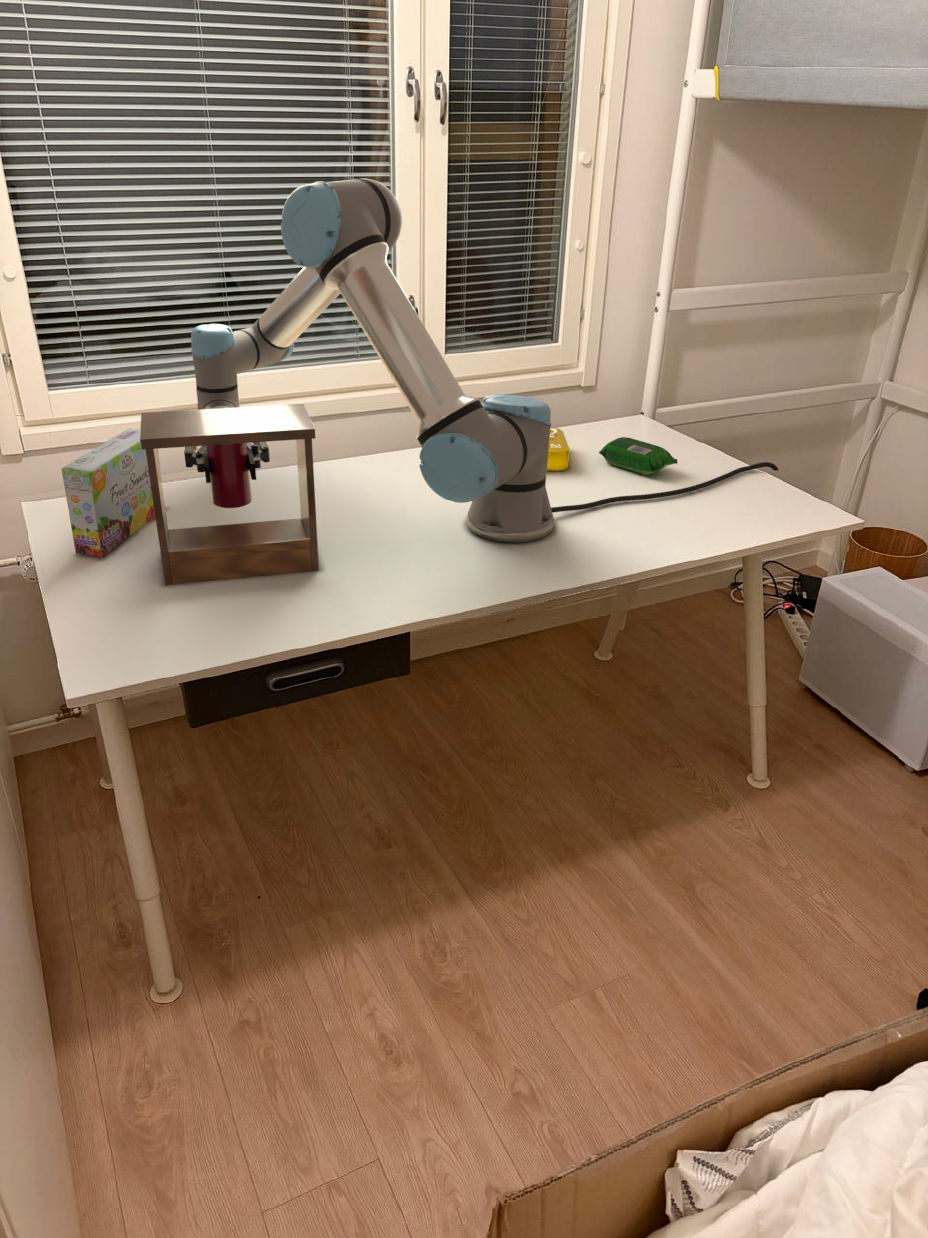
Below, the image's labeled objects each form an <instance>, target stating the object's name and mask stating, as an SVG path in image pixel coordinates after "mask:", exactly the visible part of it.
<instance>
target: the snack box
mask: <svg viewBox="0 0 928 1238" xmlns="http://www.w3.org/2000/svg"><path fill="white" fill-rule="evenodd" d="M140 432H141V428H132V427H131V428H126V429H125V430H123V431H122V432H120V433H118V434H117V435H115V436H113V437H112V438H110V439H108V440H106V441H105V442H103V443H102V444H100V445H98V446H96V447H95V448H94V449H91V450H90V451H88V452H86V453H85V454H82V456H80V457H78V458H76V459H74V460H73V461H71V462H69V463H68V464H67V465H65V466H62V467H61V474H62V475H61V476H62V481H63V486H64V492H65V499H66V505H67V509H68V514H69V521H70V528H71V533H72V541H73V545H74V551H75V554H76V555H77V554H79V555H84V556H89V557H96V558H102V559H103V558H105V556H107V555H108V554H110V552H112V551H113V550H114V549H116V548H117V547H118V546H120V545H121V544H122V543H123V542H124V541H126V540H127V539H129V538H130V537H131V536H132V535H134V534H135V533H136V532H137V531H139V530H140V529H141V528H143V527H144V526H146V525H147V524H148V523H149V522H151V521H152V520H153V519H154V518H155V511H154V504H153V498H152V491H151V484H150V477H149V470H148V463H147V457H146V450H145V449H143V450H142V449H141V442H140ZM157 452H158V453H159V449H157ZM158 459H159V460H160V456H159V454H158ZM159 466H160V467H161V463H160V462H159ZM160 473H161V471H160ZM161 474H162V473H161Z"/></svg>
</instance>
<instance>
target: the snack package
mask: <svg viewBox="0 0 928 1238" xmlns="http://www.w3.org/2000/svg"><path fill="white" fill-rule="evenodd" d="M598 454H600V455H601V456H602V457H603V458H604V460H605V461H606V462H607V463H608V464H610V465H612V466H615V467H618V468H622V469H625V470H628V471H631V472H634V473H638V474H642V475H645V476H651V475H653V474H655V473H657V472H659V471H660V470H662V469H664V468H666V467H667V466H671V465H678V458H675V457H673V456H672V454H671V453H670V452H669V451H668V450H667V449H665V448H664V447H662V446H659V445H656V444H652V443H650V442H647V441H644V440H643V441H642V440H639V439H635V438H633V437H632V438H631V437H626V436H621V437H618V438H615V439H613V440H611V441H610V442H608V443H606V444H605V445H604V446H603V447H602V448H601V450H599V452H598Z"/></svg>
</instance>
